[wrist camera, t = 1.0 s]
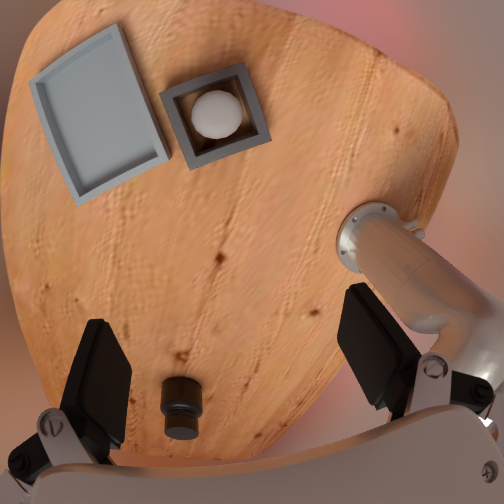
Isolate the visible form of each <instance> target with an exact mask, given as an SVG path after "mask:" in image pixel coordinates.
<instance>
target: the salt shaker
mask: <svg viewBox="0 0 504 504" xmlns="http://www.w3.org/2000/svg"><path fill="white" fill-rule="evenodd" d="M242 112H243V110H242V107H241V105H240V103H239V100H238V99H237V98H235V97H234V96H233V95H232V94H230V93H228V92H224V91H220V90H216V91H212V92H207V93H205V94H204V95H203V96H201V97H200V98H198V99H197V101H196V102H195V104H194V106H193V108H192V110H191V122H192V124H193V126H194V128H195V130H196V131H197V132H199V133H200V134H201V135H203V136H204V137H208V138H213V139H219V138H224V137H228V136H229V135H231V134H232V133H233V132H235V131H236V130H237V128H238V127H239V125H240V123H241V122H242Z"/></svg>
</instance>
